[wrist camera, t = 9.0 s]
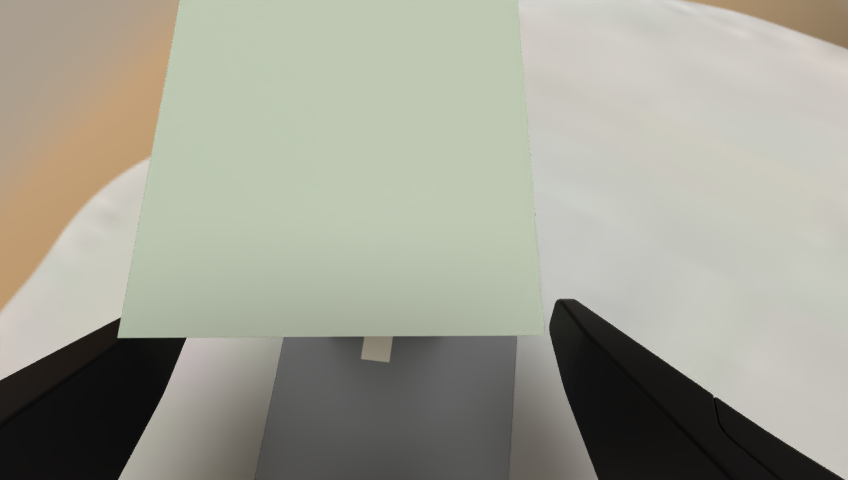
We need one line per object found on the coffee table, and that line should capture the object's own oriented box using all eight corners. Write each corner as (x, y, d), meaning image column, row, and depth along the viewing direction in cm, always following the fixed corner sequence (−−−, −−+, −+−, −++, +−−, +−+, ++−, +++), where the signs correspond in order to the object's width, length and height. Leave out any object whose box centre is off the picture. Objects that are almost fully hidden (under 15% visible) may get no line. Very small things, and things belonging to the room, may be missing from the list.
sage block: (444, 333, 16) (544, 335, 5) (326, 334, 16) (117, 338, 4) (442, 222, 17) (517, 0, 6) (333, 222, 17) (182, -14, 6)
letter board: (497, 521, 16) (506, 539, 14) (260, 494, 16) (246, 509, 14) (516, 227, 19) (525, 219, 18) (319, 201, 19) (312, 191, 17)
